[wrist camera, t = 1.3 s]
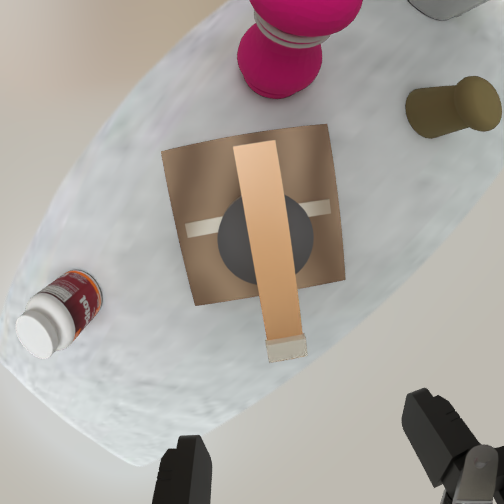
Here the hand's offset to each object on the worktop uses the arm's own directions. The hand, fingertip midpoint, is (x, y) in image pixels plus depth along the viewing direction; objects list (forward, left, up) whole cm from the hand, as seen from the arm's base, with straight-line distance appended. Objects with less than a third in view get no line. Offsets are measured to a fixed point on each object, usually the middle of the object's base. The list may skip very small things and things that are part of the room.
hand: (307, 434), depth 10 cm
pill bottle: (+22, +1, -23) cm, 32 cm away
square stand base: (0, -4, -22) cm, 23 cm away
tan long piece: (0, -4, -14) cm, 15 cm away
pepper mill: (-4, -19, -23) cm, 30 cm away
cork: (-21, -13, -23) cm, 34 cm away
